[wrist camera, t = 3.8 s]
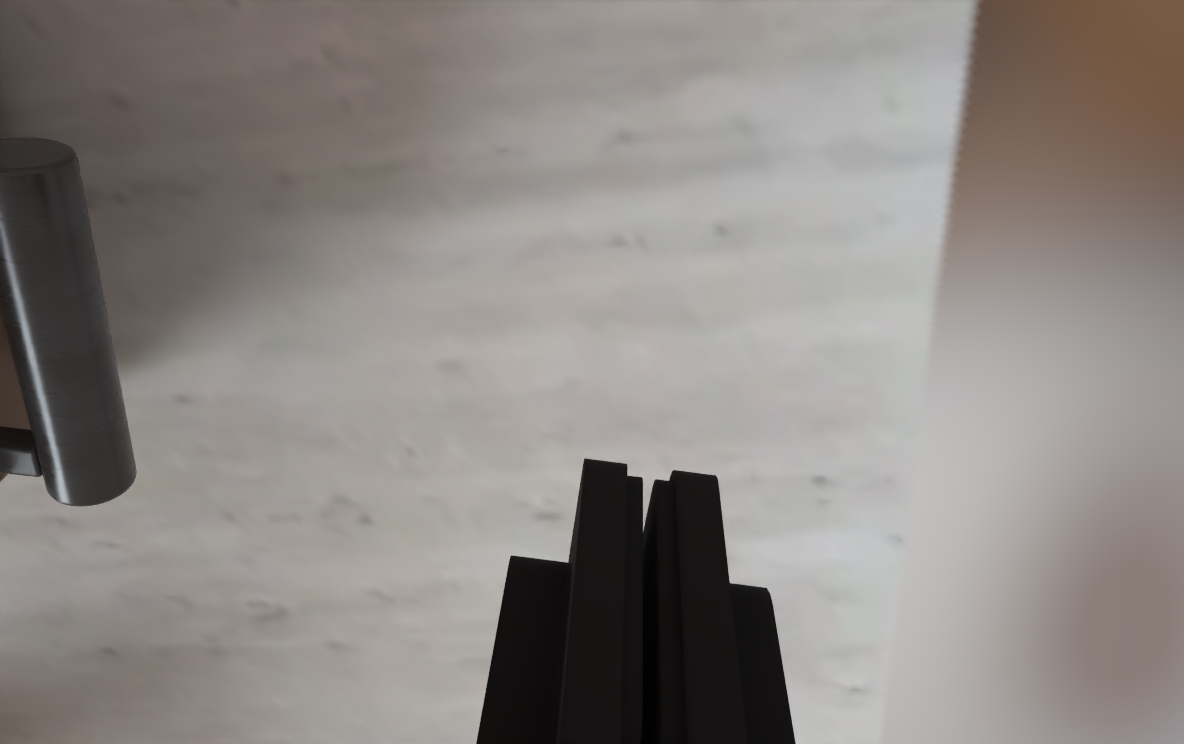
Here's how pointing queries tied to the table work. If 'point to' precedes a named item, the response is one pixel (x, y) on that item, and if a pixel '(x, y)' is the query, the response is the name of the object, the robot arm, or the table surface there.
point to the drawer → (56, 334)
